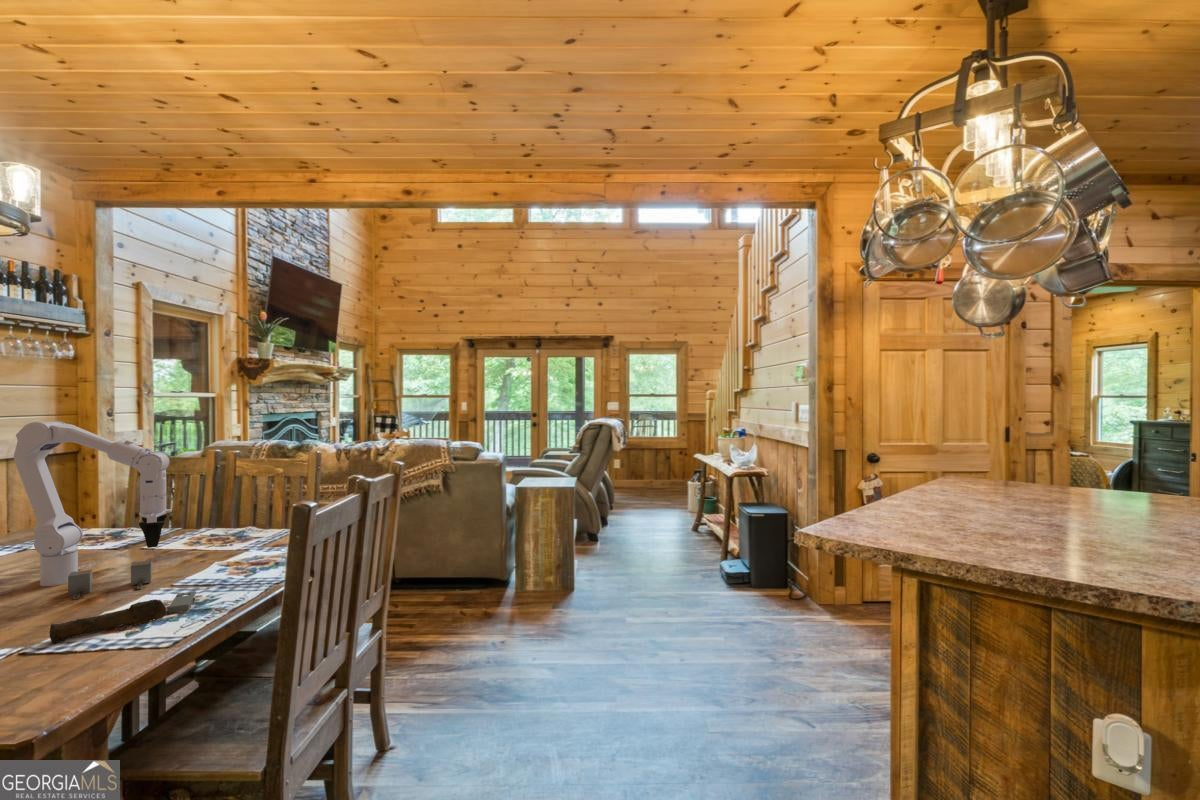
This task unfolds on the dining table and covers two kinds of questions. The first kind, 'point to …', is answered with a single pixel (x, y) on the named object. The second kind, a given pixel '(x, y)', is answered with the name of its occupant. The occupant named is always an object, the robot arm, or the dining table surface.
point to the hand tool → (108, 620)
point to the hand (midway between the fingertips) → (153, 544)
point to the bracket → (182, 602)
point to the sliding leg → (141, 573)
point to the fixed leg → (79, 583)
